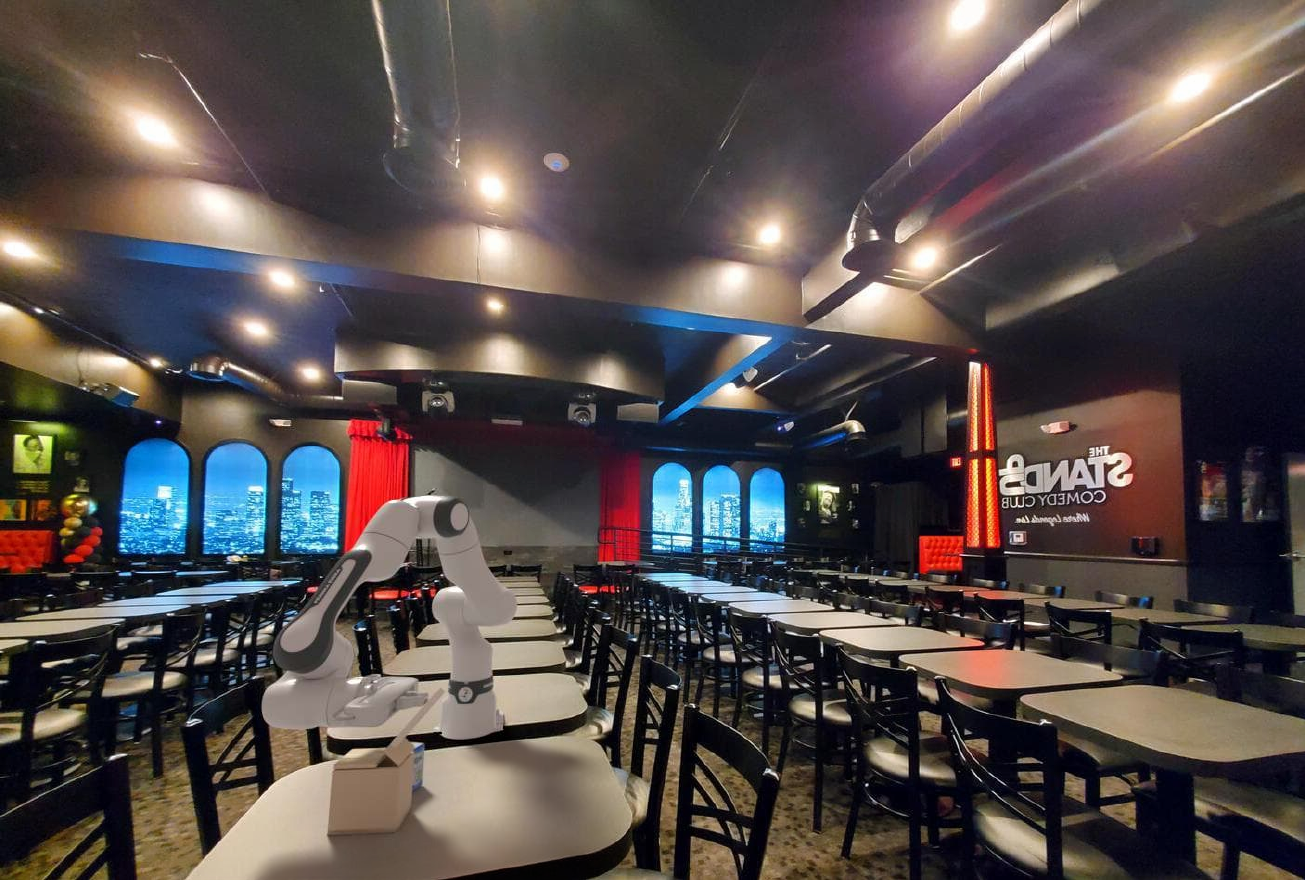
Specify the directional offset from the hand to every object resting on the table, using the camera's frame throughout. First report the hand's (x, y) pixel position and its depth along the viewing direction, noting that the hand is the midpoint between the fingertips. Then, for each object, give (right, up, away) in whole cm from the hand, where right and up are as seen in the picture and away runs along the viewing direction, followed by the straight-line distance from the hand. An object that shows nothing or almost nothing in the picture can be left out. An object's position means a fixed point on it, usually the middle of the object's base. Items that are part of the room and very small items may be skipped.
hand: (426, 699), depth 109 cm
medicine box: (-8, -24, +8) cm, 26 cm away
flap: (-5, -9, -2) cm, 10 cm away
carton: (-9, -21, -4) cm, 24 cm away
